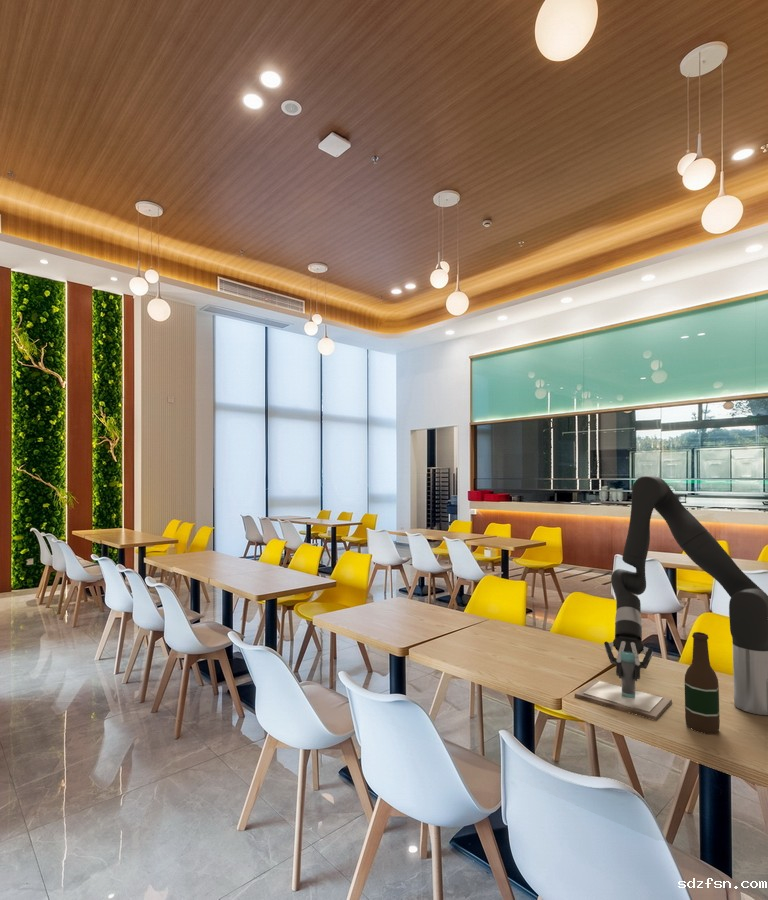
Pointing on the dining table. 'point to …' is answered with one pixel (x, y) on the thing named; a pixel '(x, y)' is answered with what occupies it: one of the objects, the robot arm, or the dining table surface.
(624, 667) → the teal-capped glass tube
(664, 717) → the dining table surface
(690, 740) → the dining table surface
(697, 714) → the beer bottle
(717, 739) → the dining table surface
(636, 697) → the writing board
